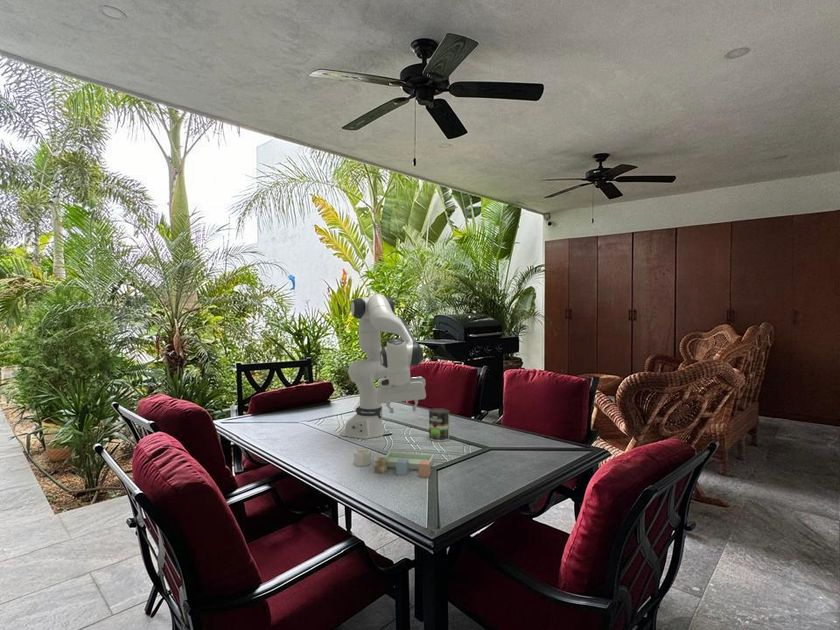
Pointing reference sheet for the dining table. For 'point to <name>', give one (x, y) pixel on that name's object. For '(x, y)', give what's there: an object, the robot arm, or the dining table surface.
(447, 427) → the coffee can
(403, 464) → the blue block
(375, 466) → the birch block
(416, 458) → the tray
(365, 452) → the cup
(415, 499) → the dining table surface
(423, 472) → the terracotta block
